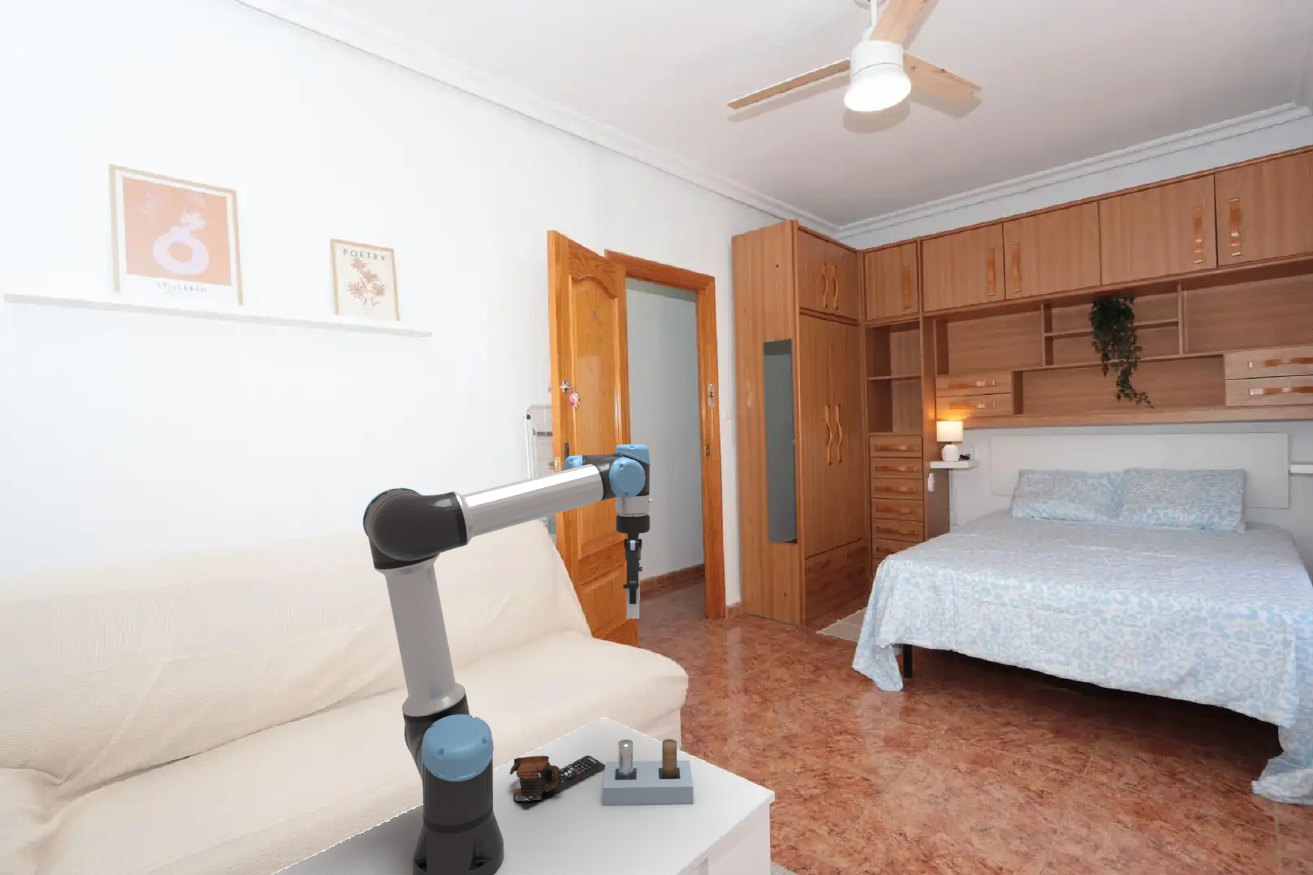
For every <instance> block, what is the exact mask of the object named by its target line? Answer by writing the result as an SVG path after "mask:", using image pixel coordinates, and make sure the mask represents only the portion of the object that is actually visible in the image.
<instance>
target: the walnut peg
mask: <svg viewBox="0 0 1313 875" xmlns="http://www.w3.org/2000/svg"><path fill="white" fill-rule="evenodd" d="M677 742H678V741H677V740H675V739H672V738H668V739H664V740H663V741H662V742H661V745H662V747H661V748H662V749H661V751H662V752H661V754H662V755H661V759H662V760H661V761H662V779H677V761H678V758H677V756H678V754H677V753H678V751H677V750H678V749H677V748H678V746H677V745H678V743H677Z"/></svg>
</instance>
